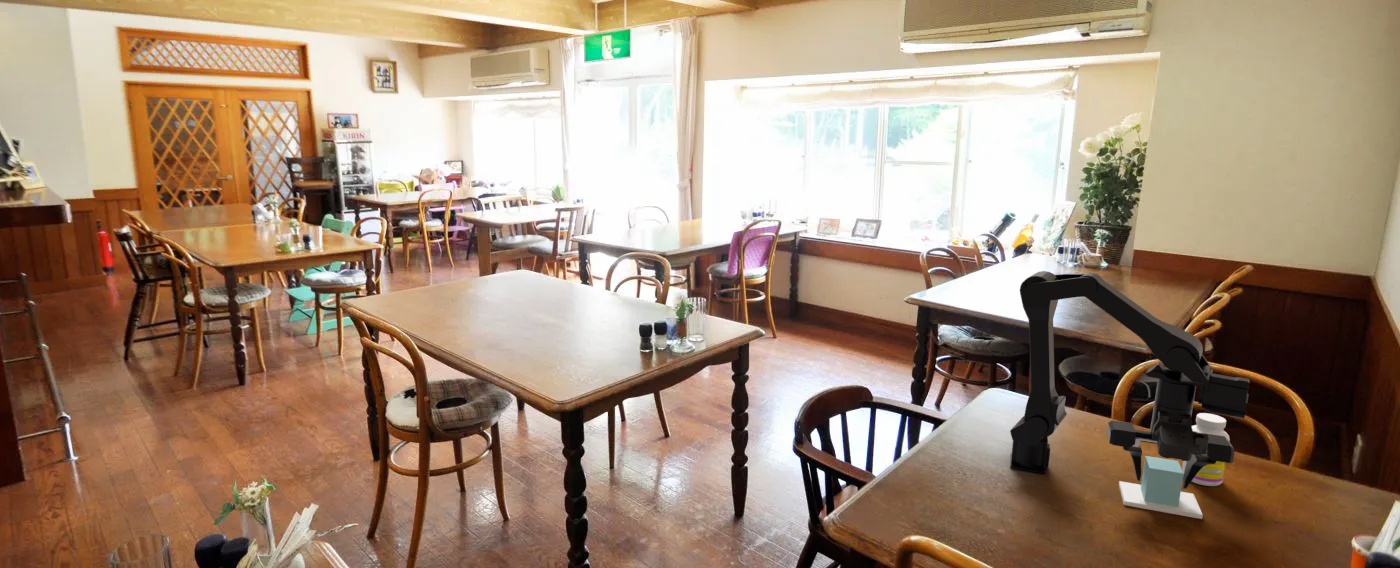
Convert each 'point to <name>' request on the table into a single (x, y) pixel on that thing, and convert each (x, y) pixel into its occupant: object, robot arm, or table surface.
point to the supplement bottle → (1215, 472)
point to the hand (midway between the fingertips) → (1161, 483)
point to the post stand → (1135, 498)
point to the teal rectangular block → (1161, 481)
